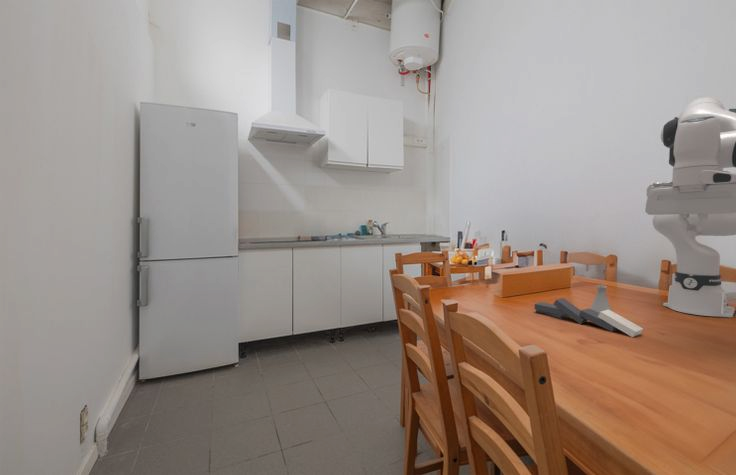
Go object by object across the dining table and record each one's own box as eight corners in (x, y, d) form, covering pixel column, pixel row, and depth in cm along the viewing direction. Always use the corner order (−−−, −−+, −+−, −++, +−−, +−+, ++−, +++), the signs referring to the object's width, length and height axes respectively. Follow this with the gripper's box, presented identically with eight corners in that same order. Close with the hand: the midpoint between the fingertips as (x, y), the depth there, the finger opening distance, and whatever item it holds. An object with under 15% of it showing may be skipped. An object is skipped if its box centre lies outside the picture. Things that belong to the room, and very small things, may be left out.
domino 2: (560, 320, 114) (535, 313, 123) (570, 319, 116) (545, 311, 125) (560, 315, 114) (536, 308, 123) (570, 313, 116) (545, 306, 125)
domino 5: (632, 337, 96) (597, 316, 104) (640, 334, 98) (605, 314, 106) (635, 331, 95) (600, 311, 103) (643, 328, 98) (608, 309, 106)
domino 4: (612, 332, 101) (579, 315, 109) (619, 329, 103) (587, 313, 111) (614, 326, 100) (580, 310, 108) (622, 323, 103) (589, 308, 111)
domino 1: (562, 315, 113) (534, 309, 122) (569, 313, 116) (541, 307, 125) (563, 310, 113) (534, 303, 122) (569, 307, 116) (541, 301, 124)
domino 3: (580, 324, 108) (553, 304, 115) (587, 321, 111) (560, 302, 118) (583, 319, 107) (556, 299, 114) (590, 316, 110) (563, 297, 117)
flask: (617, 316, 116) (618, 288, 116) (594, 315, 118) (595, 288, 117) (606, 311, 123) (607, 284, 123) (585, 310, 125) (586, 284, 124)
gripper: (641, 182, 95) (640, 230, 95) (747, 173, 77) (744, 232, 77) (652, 183, 98) (650, 230, 98) (756, 175, 80) (753, 232, 80)
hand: (692, 231), depth 88 cm, fingers closed
